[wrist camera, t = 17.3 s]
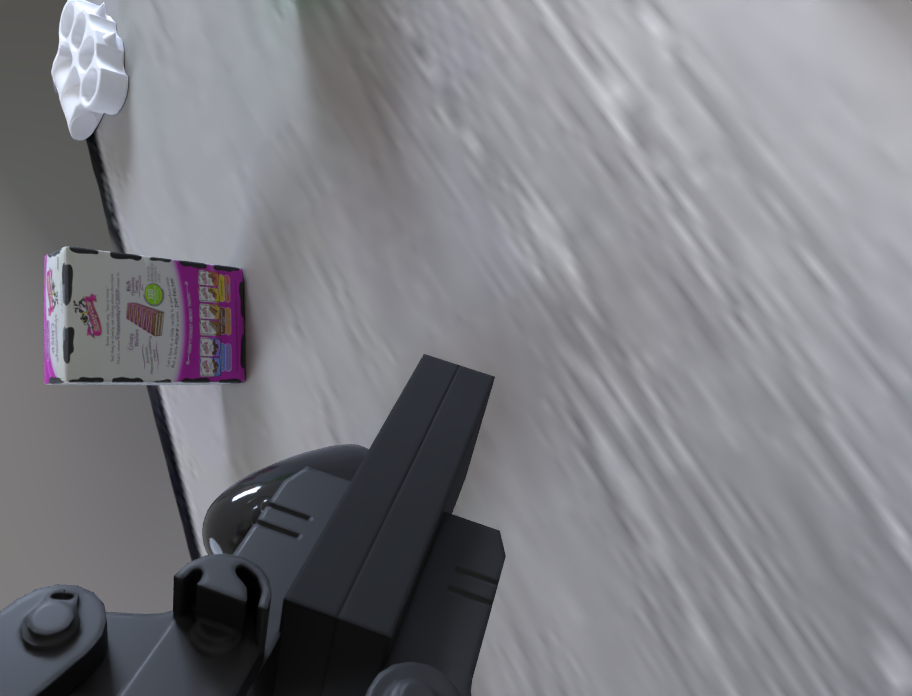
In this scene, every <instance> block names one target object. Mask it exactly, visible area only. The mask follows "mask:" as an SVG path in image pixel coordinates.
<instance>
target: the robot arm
mask: <svg viewBox="0 0 912 696" xmlns="http://www.w3.org/2000/svg"><path fill="white" fill-rule="evenodd" d="M494 378H495V377H494V376H490V375H487V374H484V373H481V372H478V371H475V370H472V369H469V368H466V367H463V366H460V365H457V364H453V363H450V362H447V361H444V360H441V359H438V358H435V357H432V356H429V355H426V354H424V355H423V357H422V358H421V360H420V362H419V364H418V365H417V367H416V369H415V371H414V372H413V374H412V376H411V378H410V379H409V381H408V383H407V385H406V386H405V388H404V390H403V392H402V393H401V395H400V397H399V398H398V400H397V402H396V404H395V405H394V407H393V409H392V411H391V412H390V414H389V416H388V418H387V419H386V421H385V423H384V425H383V426H382V428H381V430H380V432H379V433H378V435H377V437H376V438H375V440H374V442H373V444H372V445H371V447H370V449H369V451H368V452H367V454H366V456H365V458H364V459H363V461H362V463H361V465H360V466H359V468H358V470H357V472H356V473H355V475H354V477H353V478H352V480H351V481H348V480H345V479H342V478H340V477H337V476H334V475H331V474H328V473H325V472H322V471H319V470H316V469H313V468H311V467H308V466H307V467H306V468H304V469H302V470H301V471H299V472H297V473H296V474H294V475H293V476H291V477H289V478H288V479H286V480H284V481H283V483H282V484H281V485H280V487H279V488H278V490H277V491H276V493H275V494H274V496H273V497H272V498H271V500H270V501H269V504H268V506H266V507H265V509H264V510H263V511H262V513H261V514H260V516H259V517H258V519H257V522H256V524H254V525H253V526H252V527H251V529H250V530H249V532H248V533H247V535H246V536H245V538H244V539H243V540H242V542H241V543H240V545H239V546H238V548H237V549H236V551H235V552H234V553H233V555H232V554H226V553H224V554H215V555H206V556H203V557H201V558H199V559H196V560H194V561H192V562H190V563H187V564H186V565H185V566H184V567H183V568H182V569H181V570H180V571H179V572H178V573H176V574H175V575H174V595H173V611H170V612H165V613H160V614H133V613H115V612H105V606H104V604H103V602H102V601H101V600H100V599H99V598H98V597H97V596H96V595H95V594H94V592H91V591H89V590H87V589H84V588H82V587H79V586H75V585H53V586H48V587H44V588H40V589H36V590H34V591H32V592H30V593H28V594H26V595H24V596H23V597H21V598H19V599H17V600H15V601H14V602H13V603H11V604H10V605H8V606H7V607H6V608H4V609H3V610H1V611H0V696H471V685H472V678H473V674H474V671H475V667H476V663H477V660H478V656H479V652H480V649H481V645H482V641H483V637H484V634H485V630H486V626H487V623H488V619H489V615H490V612H491V608H492V604H493V601H494V597H495V593H496V590H497V585H498V582H499V579H500V575H501V571H502V568H503V564H504V560H505V557H506V556H505V552H504V547H503V543H502V539H501V534H500V531H499V530H496V529H493V528H490V527H487V526H484V525H481V524H478V523H475V522H473V521H470V520H467V519H464V518H461V517H458V516H455V515H452V512H453V509H454V507H455V504H456V502H457V499H458V496H459V494H460V491H461V488H462V486H463V483H464V480H465V478H466V474H467V471H468V468H469V464H470V461H471V457H472V454H473V450H474V447H475V443H476V440H477V437H478V433H479V430H480V426H481V423H482V419H483V416H484V413H485V409H486V406H487V402H488V399H489V395H490V392H491V389H492V385H493V382H494Z"/></svg>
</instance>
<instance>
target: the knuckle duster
mask: <svg viewBox="0 0 912 696" xmlns="http://www.w3.org/2000/svg"><path fill="white" fill-rule="evenodd" d="M59 39H60V41H59V48H58V53H57V55H56V57H55V59H54V62H53V66H52V72H51V74H52V77H53V80H54V83H55V85H56V87H57V91H58V94H59V97H60V98H59V99H60V102H61V105H62V108H63V111H64V113H65V116H66V119H67V123H68V128H69V131H70V134H71V137H72V138H74V139H75V140H84V139H86V138H88V137H89V136H90V135H91V134H92V133H93V132H94V130H95V128H96V127H97V126H98V124H99V122H100V120H101V118H102V116H103V114H104V113H105V114H109V115H115V114H117V113H118V112H119V111H120V110H121V108H122V106H123V104H124V102H125V99H126V95H127V91H128V76H127V75H126V73H125V69H124V47H123V41H122V39H121V38H119V37H118V35H117V31H116V23H115V22H114V21H113V19H112V18H111V17H109V16H107V15H106V9H105V4H104V3H103V4H102V5H100V6H98V5H95V4H93V3H90V2H87V1H85V0H68V1H67V3H66V4H65V6H64V9H63V11H62V15H61V19H60V25H59Z"/></svg>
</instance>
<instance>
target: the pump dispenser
mask: <svg viewBox="0 0 912 696" xmlns="http://www.w3.org/2000/svg"><path fill="white" fill-rule="evenodd" d="M368 451H369V449H367V448H365V447H363V446H360V445H355V444H344V445H335V446H329V447H325V448H321V449H317V450H313V451H309V452H305V453H302V454H299V455H296V456H293V457H290V458H287V459H284V460H282V461H279V462H277V463H274V464H272V465H269V466H267V467H265V468H262V469H260V470H258V471H256V472H254V473H252V474H250V475H248V476H246V477H244V478H243V479H241V480H239V481H238V482H236V483H235V484H233V485H232V486H230V487H229V488H228V489H227V490H225V491H224V492H223V493H222V494H221V495H220V496H219V497H218V498H217V499H216V500H215V501H214V502H213V503H212V504H211V506H210V507H209V509H208V511H207V513H206V516H205V518H204V522H203V529H202V536H203V543H204V546H205V549H206V551H207V553H208V555H215V554H224V553H226V554H232V555H233V553H234V552H235V551H236V549H237V548H238V546H239V545H240V543H241V542H242V540H243V539H244V538H245V536H246V535H247V533H248V532H249V530H250V529H251V527H252V526H253V525H254V524H256V522H257V519H258V517H259V516H260V514H261V513H262V511H263V510H264V509H265V507H266V506H268V504H269V501H270V500H271V498H272V497H273V496H274V494H275V493H276V491H277V490H278V488H279V487H280V485H281V484H282V483H283V481H284V480H286V479H288V478H289V477H291V476H293V475H294V474H296V473H297V472H299V471H301V470H302V469H304V468H306V467H307V466H308V467H311V468H313V469H316V470H319V471H322V472H325V473H328V474H331V475H334V476H337V477H340V478H342V479H345V480H348V481H351V480H352V478H353V477H354V475H355V473H356V472H357V470H358V468H359V466H360V465H361V463H362V461H363V459H364V458H365V456H366V454H367V452H368Z"/></svg>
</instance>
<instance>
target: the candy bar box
mask: <svg viewBox="0 0 912 696" xmlns="http://www.w3.org/2000/svg"><path fill="white" fill-rule="evenodd" d="M44 323H45V324H44V342H45V344H44V346H45V347H44V363H45V364H44V373H45V374H44V375H45V376H44V377H45V378H44V383H45V384H48V385H220V384H233V383H243V382H244V381H245V350H244V304H243V271H242V269H241V268H235V267H228V266H220V265H212V264H204V263H196V262H189V261H179V260H172V259H163V258H155V257H149V256H141V255H133V254H125V253H119V252H108V251H100V250H93V249H85V248H77V247H67V246H66V247H64V248H62V249H59V250H58V251H56V252H54V253H52V254H51V255H50V254H47V255H46V256H45V283H44Z"/></svg>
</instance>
